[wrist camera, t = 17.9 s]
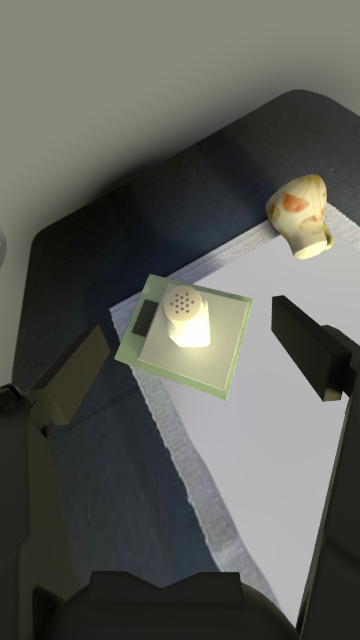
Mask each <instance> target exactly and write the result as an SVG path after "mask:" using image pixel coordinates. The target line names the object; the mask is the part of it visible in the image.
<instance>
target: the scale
mask: <svg viewBox="0 0 360 640" xmlns="http://www.w3.org/2000/svg"><path fill="white" fill-rule="evenodd" d="M181 285H183V286H189V287H192V288H194V289H195V290H196V291H197V292H199V294H200V297H203V298H205V299H206V300H207V302H208V315H209V330H210V343H209V345H207V346H197V347H180V346H178V345H177V344H176V343H175V342H174V341H173V340H172V339H171V338H170V337H169V335H168V332H167V316H166V315H165V312H164V308H163V302H164V298H165V295H166V294H167V293H168V292H169V291H170V290H171V289H172V288H175V287H178V286H181ZM252 303H253V299H251V298H247V297H242V296H239V295H234V294H230V293H226V292H222V291H218V290H213V289H209V288H205V287H201V286H196V285H193V284H189V283H185V282H181V281H176V280H172V279H168V278H164V277H160V276H156V275H151V274H149V277H148V279H147V282H146V284H145V286H144V289H143V291H142V293H141V296H140V298H139V301H138V303H137V305H136V308H135V310H134V313H133V315H132V317H131V320H130V322H129V325H128V327H127V329H126V332H125V334H124V337H123V339H122V341H121V344H120V346H119V348H118V351H117V353H116V356H115V358H114V359H116V360H118V361H121V362H124V363H126V364H129V365H132V366H134V367H137V368H140V369H142V370H145V371H148V372H150V373H153V374H156V375H158V376H161V377H164V378H167V379H169V380H172V381H175V382H177V383H180V384H183V385H186V386H188V387H191V388H193V389H196V390H199V391H201V392H204V393H207V394H209V395H212V396H215V397H217V398H220V399H223V400H226V399H227V396H228V392H229V388H230V385H231V380H232V377H233V374H234V369H235V366H236V362H237V359H238V355H239V351H240V348H241V344H242V340H243V336H244V333H245V329H246V325H247V322H248V318H249V314H250V311H251V307H252Z"/></svg>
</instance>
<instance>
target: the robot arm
mask: <svg viewBox="0 0 360 640" xmlns="http://www.w3.org/2000/svg"><path fill="white" fill-rule="evenodd" d="M271 330H272V332H273V333H274V335H275V336H276V337H277V339H278V340H279V341H280V343H281V344H282V346H283V347H284V348H285V350H286V351H287V352H288V354H289V355H290V357H291V358H292V359H293V361H294V362H295V364H296V365H297V366H298V368H299V369H300V370H301V372H302V373H303V375H304V376H305V377H306V379H307V380H308V382H309V383H310V384H311V386H312V387H313V388H314V390H315V391H316V393H317V394H318V395H319V397H320V398H321V400H322V401H323V402H324V401H336V400H341V396H342V393H343V391H344V392H345V393H346V394H347V396H348V397H349V401H348V404H347V408H346V412H345V418H344V422H343V427H342V431H341V435H340V440H339V444H338V448H337V453H336V457H335V462H334V466H333V470H332V474H331V479H330V483H329V488H328V492H327V496H326V501H325V505H324V509H323V514H322V518H321V523H320V527H319V531H318V535H317V540H316V544H315V549H314V553H313V557H312V562H311V566H310V570H309V574H308V578H307V582H306V585H305V589H304V594H303V598H302V602H301V606H300V610H299V615H298V619H297V623H296V628H294V627H293V625H292V624H291V623H290V621H289V620H288V619H287V618H286V616H285V615H284V614H283V613H282V612H281V611H280V610H279V609H278V608H277V607H276V606H275V605H274V603H273V602H271V601H270V600H269V599H268V598H267V597H265V596H264V595H263V594H262V593H260V592H259V591H257V590H256V589H254V588H252V587H251V586H248V585H246V584H244V583H242V582H241V579H240V573H239V572H200V573H197V574H195V575H193V576H190V577H188V578H186V579H183V580H181V581H179V582H176V583H174V584H172V585H169V586H167V587H164V588H159V587H156V586H154V585H152V584H150V583H148V582H146V581H144V580H142V579H140V578H138V577H136V576H134V575H132V574H130V573H128V572H126V571H92V575H91V578H90V582H89V584H88V585H87V586H85V587H83V588H82V589H81V586H80V584H79V581H78V579H77V577H76V575H75V573H74V570H73V568H72V563H71V558H70V551H69V545H68V539H67V533H66V527H65V521H64V515H63V509H62V503H61V496H60V490H59V484H58V478H57V472H56V466H55V460H54V454H53V447H52V441H51V435H50V429H49V427H48V426H47V423H48V421H49V420H50V418H51V420H52V421H53V422H54V424H55V425H65V424H69V422H70V420H71V419H72V417H73V415H74V414H75V412H76V410H77V408H78V407H79V405H80V403H81V401H82V400H83V398H84V396H85V395H86V393H87V391H88V389H89V388H90V386H91V384H92V383H93V381H94V379H95V377H96V376H97V374H98V372H99V370H100V369H101V367H102V365H103V364H104V362H105V360H106V358H107V357H108V355H109V353H110V349H109V347H108V345H107V342H106V340H105V337H104V335H103V333H102V330H101V328H100V326H99V323H97V324H91V325H89V326H88V327H87V328H86V329H85V330H84V331H83V332H82V333H81V334H80V336H79V337H78V338H77V339H76V340H75V341H74V342H73V343H72V344H71V345H70V346H69V348H68V349H67V350H66V351H65V352H64V353H63V354H62V355H61V356H60V357H59V358H58V359H57V361H56V362H55V363H53V364H52V365H50V366H49V367H48V368H47V369H46V370H45V371H44V372H43V374H41V376H40V377H39V379H37V380H36V381H35V382H34V383H33V384H32V385H31V386H30V387H29V388H28V389H27V391H26V392H25V393H24V394H23V393H22V391H21V390H20V389H19V387H18V386H17V385H16V383H10V384H6V385H3V386H1V387H0V640H360V346H359V345H358V344H357V343H355V342H354V341H353V340H351V339H350V338H349V337H347V336H345V334H343V333H342V332H341V331H339V330H338V329H336V328H334V327H331V326H329V325H323V326H320V325H319V324H318V323H316V322H315V321H314V320H313V319H312V318H310V317H309V316H308V315H307V314H306V313H304V312H303V311H302V310H301V309H300V308H298V307H297V306H296V305H295V304H294V303H292V302H291V301H290V300H289V299H288V298H286V297H285V296H284V295H282V296H275V297H272V326H271ZM241 585H242V586H241Z"/></svg>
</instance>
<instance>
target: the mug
mask: <svg viewBox="0 0 360 640" xmlns="http://www.w3.org/2000/svg"><path fill="white" fill-rule="evenodd" d="M326 197H327V195H326V187H325V184H324V182H323V180H322V179H321V178H320V177H319V176H318V175H315V174H310V175H306V176H302V177H300V178H297V179H295V180H292V181H290V182H289V183H287V184H285V185H284V186H282V187H281V188H280V189H279V190H277V191H276V192H275V193H274V194H273V195H272V196H271V198H270V199H269V200H268V202H267V203H266V205H265V208H266V213H267V217H268V220H269V221H270V223H271V225H272V226H273V227H274V228H275V229H276V230H277V231H278V232H279V233H280V234H281V235H282V236H283V237H284V238H285V239H286V240H287V242H288V243H289V245H290V248H291V250H292V253H293V256H294V257H297V258H299V259H305V258H310V257H312V256H315V255H317V254H319V253H320V252H322V251H323V250H328V249H329V248H330V247H331V246H332V244H333V238H332V235H331V233H330V232H329V230H328V228H327V226H326V224H325V222H324V213H325V206H326Z"/></svg>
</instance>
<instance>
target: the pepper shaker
mask: <svg viewBox="0 0 360 640" xmlns="http://www.w3.org/2000/svg"><path fill="white" fill-rule="evenodd" d="M163 308H164V312H165V315H166V316H167V332H168V335H169V337H170V338H171V339H172V340H173V341H174V342H175V343H176V344H177V345H178V346H180V347H197V346H207V345H209V343H210V330H209V315H208V302H207V300H206V299H205V298H203V297H200V294H199V292H197V291H196V290H195V289H194V288H192V287H189V286H183V285H181V286H178V287H175V288H172V289H171V290H170V291H169V292H168V293H167V294H166V295H165V298H164V302H163Z"/></svg>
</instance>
